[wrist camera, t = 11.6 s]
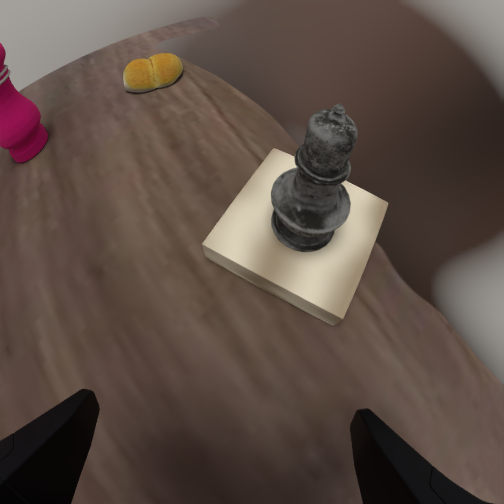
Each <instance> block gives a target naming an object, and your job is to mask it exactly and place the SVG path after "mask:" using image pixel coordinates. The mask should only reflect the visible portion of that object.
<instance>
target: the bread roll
mask: <svg viewBox="0 0 504 504" xmlns="http://www.w3.org/2000/svg"><path fill="white" fill-rule="evenodd" d="M182 70H183V66H182V63H181V61H180V59H179V58H178V57H176V56H175V55H173V54H168V53H164V54H157V55H154V56H152V57H150V58H149V59H137V60H133V61H132V62H130V63H129V64H128V65H127V67H126V68H125V71H124V73H123V74H124V86H125V89H126V90H127V91H129V92H136V93H142V92H147V91H151V90H154V89H156V88H163V87H166V86H169V85H171V84H173V83H174V82H175V81H176V80H177V78H178V77H179V76H180V75H181V73H182Z"/></svg>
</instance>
